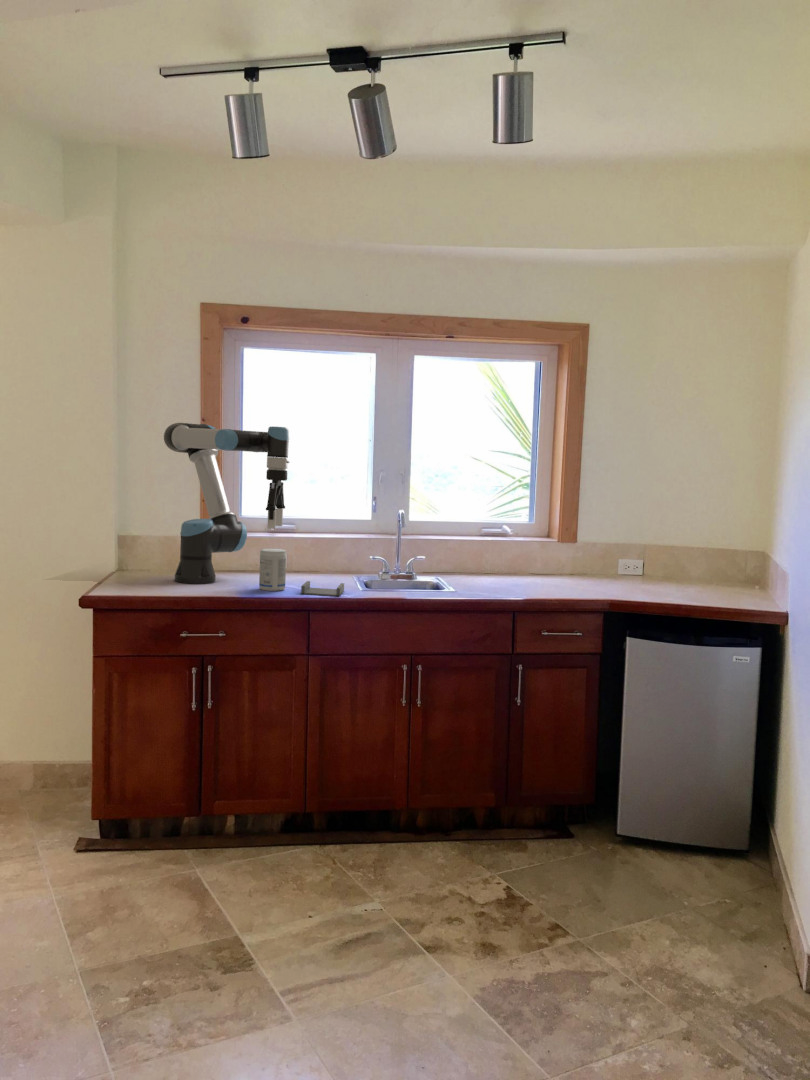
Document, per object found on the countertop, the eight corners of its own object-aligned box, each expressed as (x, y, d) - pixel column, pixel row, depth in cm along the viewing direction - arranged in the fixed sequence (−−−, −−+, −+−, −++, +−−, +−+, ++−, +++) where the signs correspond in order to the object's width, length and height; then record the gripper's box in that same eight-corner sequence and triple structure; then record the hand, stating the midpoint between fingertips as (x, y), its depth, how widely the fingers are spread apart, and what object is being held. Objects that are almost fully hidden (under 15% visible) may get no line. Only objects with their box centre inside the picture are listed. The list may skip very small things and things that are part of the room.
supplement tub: (280, 587, 338) (282, 548, 337) (288, 591, 330) (290, 551, 328) (255, 587, 334) (257, 548, 333) (263, 591, 326) (264, 551, 324)
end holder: (301, 594, 324) (301, 585, 324) (306, 588, 337) (307, 581, 337) (339, 596, 324) (340, 588, 323) (343, 591, 337) (344, 583, 336)
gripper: (280, 470, 315) (278, 530, 317) (293, 469, 340) (291, 525, 342) (259, 469, 315) (257, 529, 317) (273, 468, 340) (271, 524, 342)
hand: (274, 527), depth 330 cm, fingers open, 13 cm apart
